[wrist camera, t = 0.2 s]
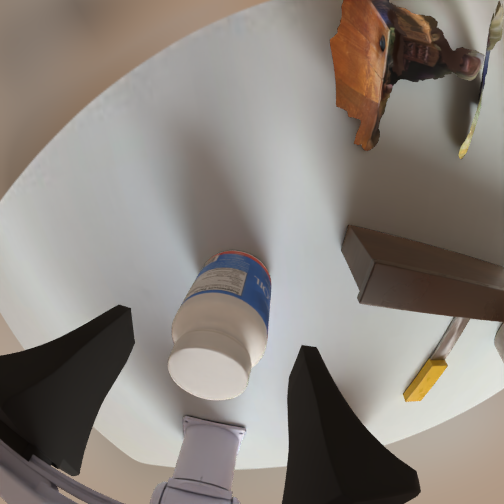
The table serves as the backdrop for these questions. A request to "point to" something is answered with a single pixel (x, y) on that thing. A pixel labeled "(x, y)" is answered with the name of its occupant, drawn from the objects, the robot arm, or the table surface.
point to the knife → (435, 362)
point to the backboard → (422, 277)
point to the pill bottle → (221, 327)
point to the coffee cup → (500, 341)
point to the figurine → (396, 59)
